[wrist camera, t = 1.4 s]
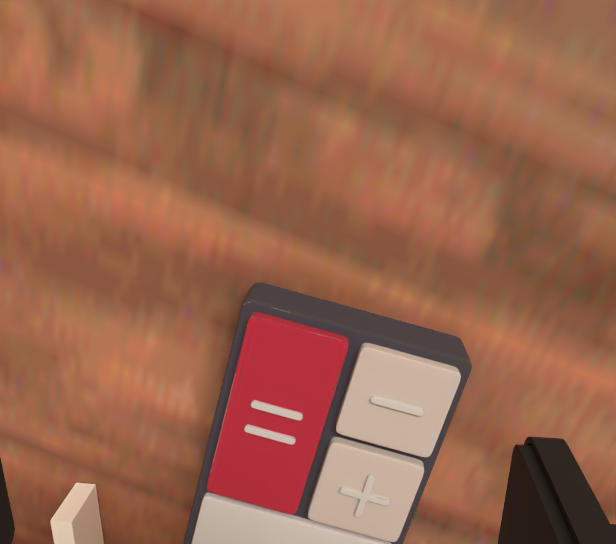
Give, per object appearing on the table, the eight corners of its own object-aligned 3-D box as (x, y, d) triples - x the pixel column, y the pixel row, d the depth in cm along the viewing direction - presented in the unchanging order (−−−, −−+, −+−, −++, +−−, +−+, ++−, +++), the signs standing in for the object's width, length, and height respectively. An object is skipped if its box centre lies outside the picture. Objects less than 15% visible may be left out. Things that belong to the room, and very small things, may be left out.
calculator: (479, 369, 26) (379, 618, 30) (462, 331, 30) (376, 555, 34) (239, 303, 26) (176, 562, 30) (255, 273, 30) (198, 506, 34)
